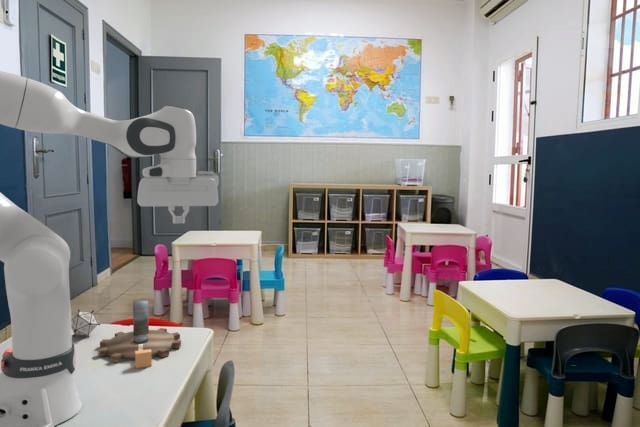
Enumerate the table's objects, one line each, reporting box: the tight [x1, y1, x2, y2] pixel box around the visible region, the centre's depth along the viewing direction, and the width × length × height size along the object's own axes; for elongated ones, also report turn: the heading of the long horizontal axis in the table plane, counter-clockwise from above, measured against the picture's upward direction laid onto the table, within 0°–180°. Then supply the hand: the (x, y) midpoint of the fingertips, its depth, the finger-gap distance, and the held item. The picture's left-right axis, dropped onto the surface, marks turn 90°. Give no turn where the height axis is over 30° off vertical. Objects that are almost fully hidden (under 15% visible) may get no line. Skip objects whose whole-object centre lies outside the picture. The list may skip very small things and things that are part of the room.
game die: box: [71, 309, 101, 339], centre depth 146 cm, size 9×8×10 cm
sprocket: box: [97, 299, 182, 363], centre depth 138 cm, size 23×23×12 cm
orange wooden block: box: [134, 349, 153, 369], centre depth 126 cm, size 4×2×4 cm, turn 114°
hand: (178, 223), depth 122 cm, fingers closed
